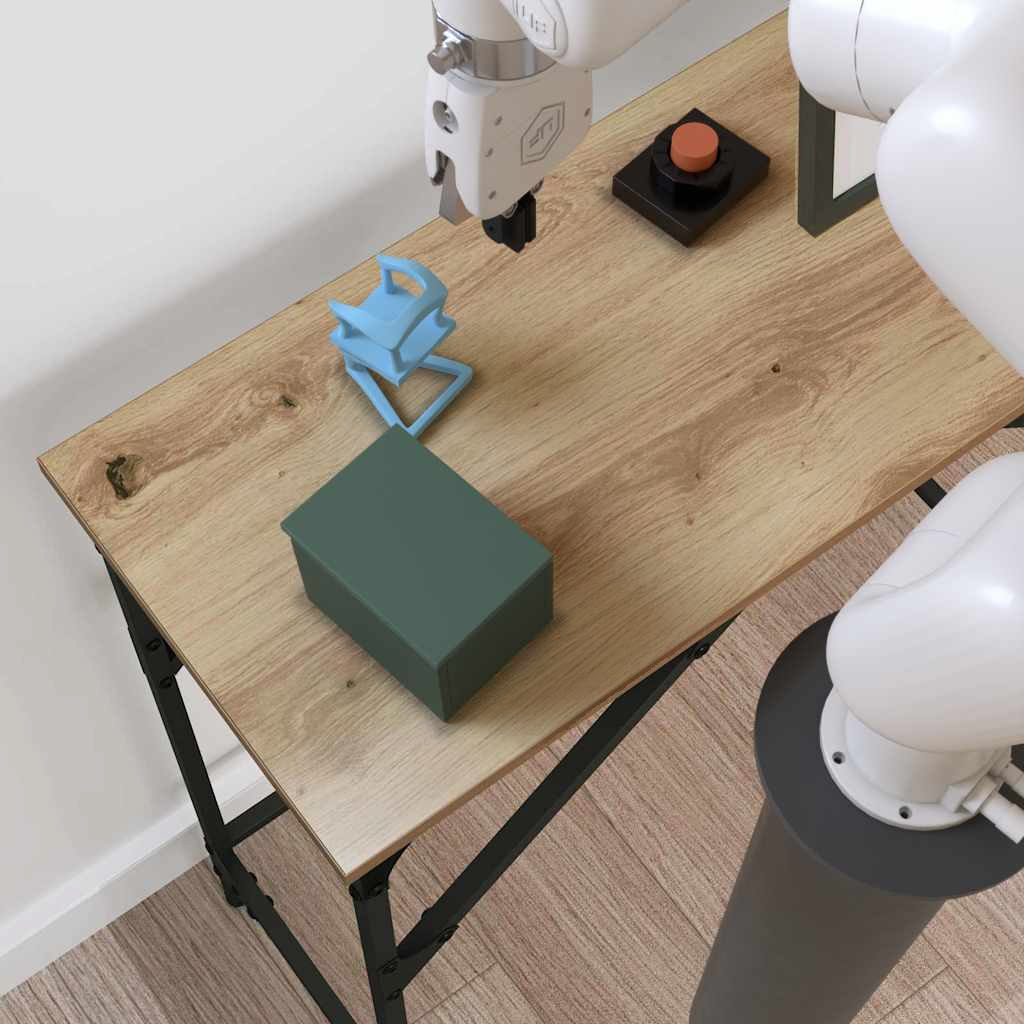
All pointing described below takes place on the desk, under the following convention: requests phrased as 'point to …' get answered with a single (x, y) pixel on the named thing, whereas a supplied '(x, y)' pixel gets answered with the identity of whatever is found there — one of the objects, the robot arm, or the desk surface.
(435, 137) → the robot arm
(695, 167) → the button
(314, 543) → the box lid
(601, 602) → the desk surface
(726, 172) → the push button base
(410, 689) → the green box
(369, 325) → the chair
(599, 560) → the desk surface
